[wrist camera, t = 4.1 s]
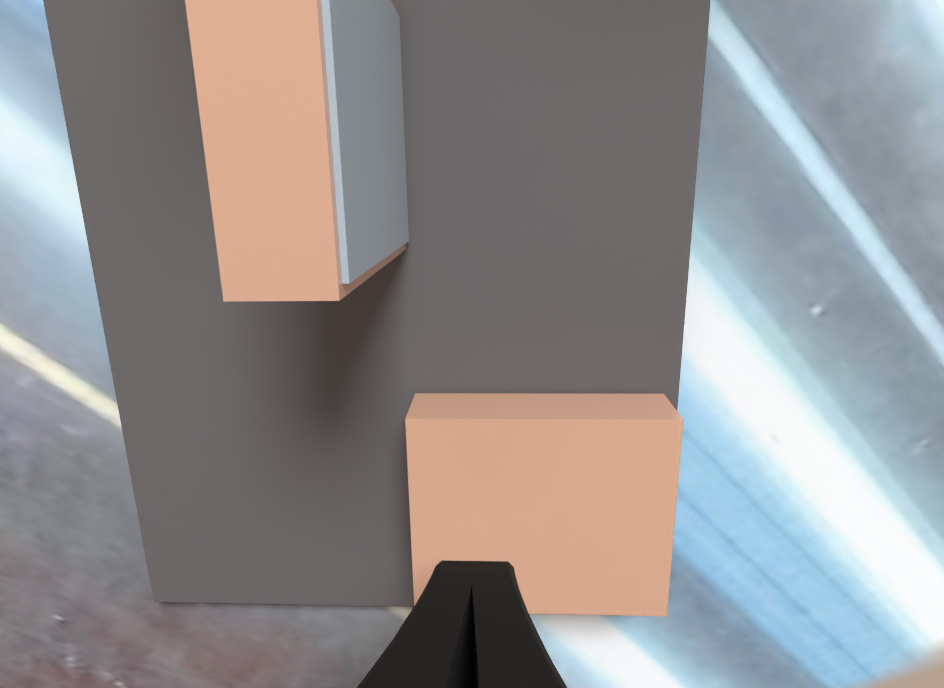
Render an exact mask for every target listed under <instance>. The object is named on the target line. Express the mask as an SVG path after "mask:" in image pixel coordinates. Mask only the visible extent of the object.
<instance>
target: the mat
mask: <svg viewBox="0 0 944 688" xmlns="http://www.w3.org/2000/svg"><path fill="white" fill-rule="evenodd" d="M391 1H392V3H393V5H394V6H395V8H396V12H397V13H398V15H399V19H400V42H401V65H402V89H403V112H404V135H405V159H406V182H407V205H408V229H409V242H407V243H406V250H405V251H403V252H402V253H401V254H399V255H398V256H397V257H395V258H394V259H393V260H392V261H390V262H389V263H388V264H386V265H385V266H384V267H383V268H381V269H380V270H379V271H377V272H376V273H375V274H373V275H372V276H371V277H370V278H368V279H367V280H366V281H364V282H363V283H362V284H361V285H359V286H358V287H357V288H355V289H354V290H353V291H352V292H350V293H349V294H348V295H346V296H345V297H344V298H342V299H341V300H340V301H226V302H224V301H223V294H222V286H221V278H220V270H219V262H218V254H217V247H216V239H215V231H214V223H213V215H212V208H211V200H210V192H209V184H208V176H207V168H206V161H205V153H204V145H203V137H202V129H201V121H200V114H199V106H198V98H197V90H196V82H195V75H194V67H193V59H192V51H191V43H190V35H189V28H188V20H187V12H186V4H185V0H43V2H44V7H45V12H46V18H47V23H48V29H49V34H50V40H51V45H52V50H53V56H54V61H55V67H56V72H57V78H58V83H59V88H60V94H61V99H62V105H63V110H64V116H65V121H66V126H67V132H68V137H69V143H70V148H71V154H72V159H73V164H74V170H75V175H76V181H77V186H78V192H79V197H80V202H81V208H82V213H83V219H84V224H85V230H86V235H87V240H88V246H89V251H90V257H91V262H92V268H93V273H94V278H95V284H96V289H97V295H98V300H99V306H100V311H101V316H102V322H103V327H104V333H105V338H106V344H107V349H108V354H109V360H110V365H111V371H112V376H113V382H114V387H115V392H116V398H117V403H118V409H119V414H120V420H121V425H122V430H123V436H124V441H125V447H126V452H127V458H128V463H129V468H130V474H131V479H132V485H133V490H134V496H135V501H136V506H137V512H138V517H139V523H140V528H141V534H142V539H143V544H144V550H145V555H146V561H147V566H148V572H149V577H150V582H151V588H152V593H153V599H154V602H196V603H249V604H303V605H356V606H410V607H414V589H413V569H412V548H411V527H410V507H409V486H408V465H407V444H406V424H405V418H406V415H407V413H408V410H409V408H410V405H411V403H412V400H413V398H414V395H415V393H531V394H664V395H665V396H666V397H667V399H668V400H669V401H670V403H671V404H672V405H673V407H674V408H675V409H676V411H677V405H678V393H679V380H680V368H681V356H682V343H683V331H684V319H685V306H686V294H687V282H688V269H689V257H690V245H691V232H692V220H693V208H694V195H695V183H696V171H697V158H698V146H699V134H700V121H701V109H702V97H703V84H704V72H705V60H706V47H707V35H708V23H709V10H710V0H391Z"/></svg>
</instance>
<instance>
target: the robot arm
mask: <svg viewBox="0 0 944 688" xmlns="http://www.w3.org/2000/svg"><path fill="white" fill-rule="evenodd" d="M357 688H567V687H566V685H565V683H564V681H563V680H562V678H561V676H560V674H559V673H558V671H557V669H556V668H555V666H554V664H553V662H552V660H551V658H550V656H549V655H548V653H547V651H546V649H545V647H544V645H543V643H542V641H541V639H540V637H539V635H538V633H537V630H536V628H535V626H534V624H533V622H532V620H531V618H530V615H529V613H528V611H527V608H526V606H525V603H524V601H523V598H522V595H521V592H520V590H519V586H518V583H517V580H516V576H515V571H514V567H513V566H512V565H511V564H510V563H509V562H508V561H445V560H442V561H441V562H439V563H438V564H437V565H436V566H435V569H434V571H433V573H432V575H431V577H430V579H429V581H428V583H427V585H426V587H425V589H424V591H423V592H422V594H421V596H420V598H419V599H418V601H417V603H416V604H415V606H414V608H413V609H412V611H411V613H410V614H409V616H408V617H407V619H406V620H405V622H404V623H403V625H402V626H401V628H400V630H399V631H398V633H397V634H396V636H395V637H394V639H393V640H392V642H391V643H390V644H389V646H388V647H387V649H386V650H385V651H384V653H383V654H382V655H381V657H380V658H379V659H378V661H377V662H376V663H375V665H374V666H373V667H372V669H371V670H370V671H369V673H368V674H367V675H366V677H365V678H364V679H363V680H362V682H361V683H360V684H359V685H358V687H357Z"/></svg>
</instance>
